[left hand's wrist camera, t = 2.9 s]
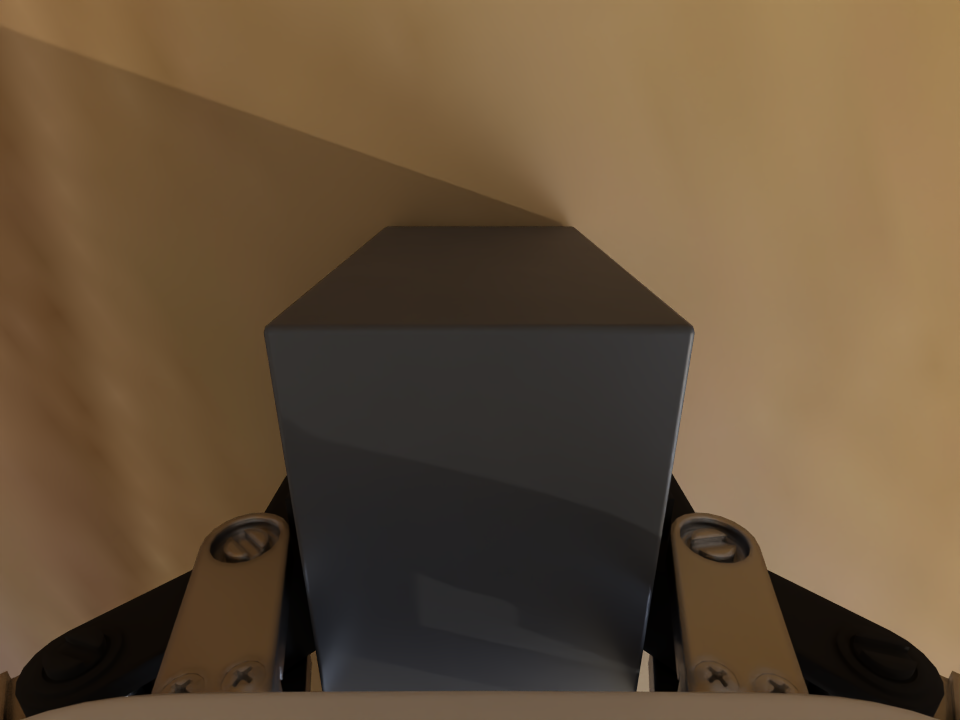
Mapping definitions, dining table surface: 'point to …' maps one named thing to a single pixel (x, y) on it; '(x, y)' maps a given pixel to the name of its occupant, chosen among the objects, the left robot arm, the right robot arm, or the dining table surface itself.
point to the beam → (479, 459)
